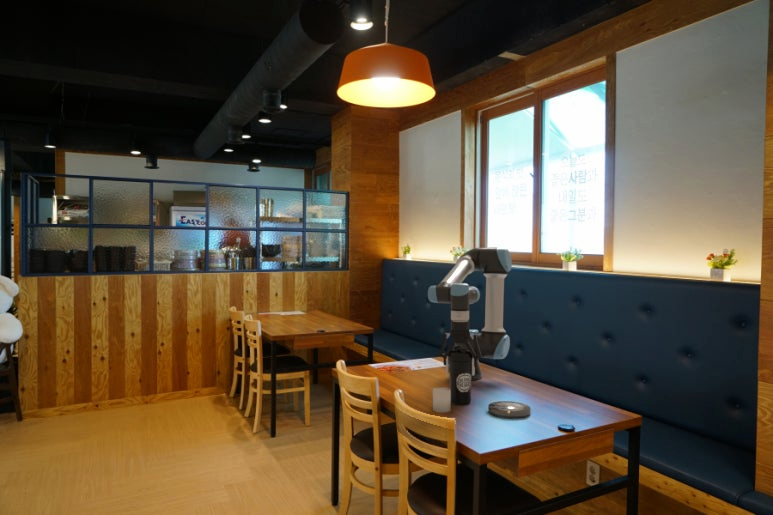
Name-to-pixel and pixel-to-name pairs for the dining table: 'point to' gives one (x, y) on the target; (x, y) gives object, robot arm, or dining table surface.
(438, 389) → the white rounded capsule
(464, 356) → the water bottle
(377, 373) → the dining table surface
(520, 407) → the grey plate
